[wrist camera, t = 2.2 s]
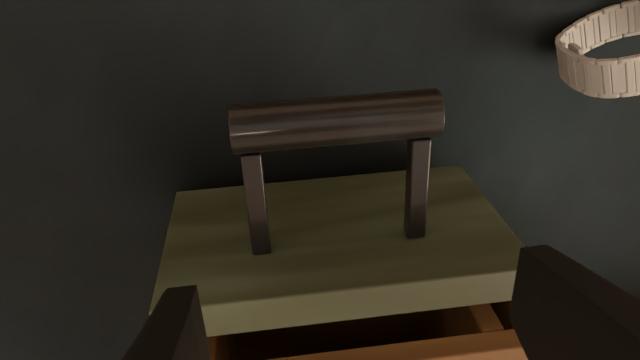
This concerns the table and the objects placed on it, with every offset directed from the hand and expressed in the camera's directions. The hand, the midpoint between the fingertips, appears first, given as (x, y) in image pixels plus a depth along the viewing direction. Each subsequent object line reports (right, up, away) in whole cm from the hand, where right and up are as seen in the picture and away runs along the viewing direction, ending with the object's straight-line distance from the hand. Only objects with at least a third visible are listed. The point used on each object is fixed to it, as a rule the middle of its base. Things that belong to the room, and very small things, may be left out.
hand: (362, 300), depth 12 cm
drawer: (-1, -1, +11) cm, 11 cm away
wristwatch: (+10, +9, +9) cm, 16 cm away
